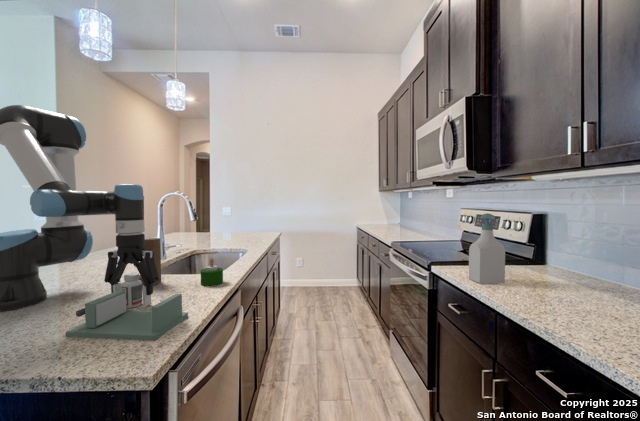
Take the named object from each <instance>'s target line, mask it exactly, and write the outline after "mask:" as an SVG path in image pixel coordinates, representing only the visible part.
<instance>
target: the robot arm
mask: <svg viewBox="0 0 640 421" xmlns="http://www.w3.org/2000/svg"><path fill="white" fill-rule="evenodd" d="M86 141H87V133H86V128H85V127H84V125H83V123H82V122H81V121H80V120H79V119H78V118H76V117H73V116H72V115H71V116H70V115H67V114H64V113H58V112H55V111H50V110H45V109H41V108H38V107H32V106H28V105H24V104H15V105H14V104H12V105H7V106H4V107H2V108H0V145H1V146H4V147H5V149H6V150H7V152H8V154H9V155H10V157H11V158H12V159H13V161H14V163H15V164H16V166H17V167H18V168H19V171H20V172H21V173H22V175H23V177H24V178H25V180H26V182H27V183H28V185H29V186H30V187H31V189H32V191H33V192H32V193H31V195H30V198H29V205H30V209H31V212H32V213H33V214H34V215H35V216H37V217H42V218H45V219H46V220H45V221H46V222H45V223H44V224H43V225H42V226H40V232H38V230H37V229H36V228H26V229H16V230H10V231H4V232H0V312H6V311H13V310H17V309H18V310H19V309H21V308H26V307H29V306H33V305H36V304H39V303H41V302H44V301H45V300H47V299H48V294H47V293H48V292H47V290H46V288H45V285H44V284H43V281H42V280H41V278H40V275H39V272H40V271H39V268H41V267H47V266H54V265H57V264H58V265H60V264H65V263H72V262H73V263H74V262H76V261H81V260H84V259H85V258H87V257H88V256H89V254H90V253H91V252H92V249H93V243H94V241H93V235H92V233H91V231H90V230H89V229H87V228H85V225H84V223H83V222H82V221H80V220H79V217H80V216H102V215H103V216H104V215H105V216H106V215H114V219H115V233H116V234H117V235H116V236H115V246H116V247H117V250H115V249H114V250H110V251H108V252H107V258H108V260H107V265H106V270H105V275H104V283H109V284H110V288H111V289H110V290H111V291H110V294H111V293H113V292H116V291H122V287H121V286H122V283H123V282H122V281H121V279H122V277H123V274H124V272H125V270H126V268H127V266H128V264H130V265H133V266H134V268H136V269H137V271H138V273H139V275H141V277H142V279H143V281H144V283H145V285H143V286H142V287H143V289H142V307H144V308H145V307H148V306H149V305H151V304H152V295H153V294H154V286H153V283H155V282H157V281H159V277H158V273H157V269H156V265H155V261H154V251H145V250H144V244H145V239H146V236H145V235H146V234H145V233H144V232H145V231H146V230H145V195H144V188H143V186H142V185H140V184H132V183H120V184H119V183H117V184H115V185H114V188H113V189H114V190H112V191H110V190H107V191H106V190H105V191H103V190H78V189H77V183H76V182H77V181H76V180H77V179H76V166H75V156H76V155H77V154H79V153H80V150H81V149H83V148H84V147H85V145H86ZM143 256H144V258H145V260H144V258H143ZM145 263H146V265H145Z"/></svg>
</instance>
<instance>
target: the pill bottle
mask: <svg viewBox="0 0 640 421" xmlns="http://www.w3.org/2000/svg"><path fill="white" fill-rule="evenodd" d="M139 275H140V273H139V272H133V273H126V274H124V275H123V280H124V282H121V283H122V286H121V287H122V291H125V294H126V309H131V308H136V307H139V306H141V305H143V289H142V282H141V280H138V279H139Z"/></svg>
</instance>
